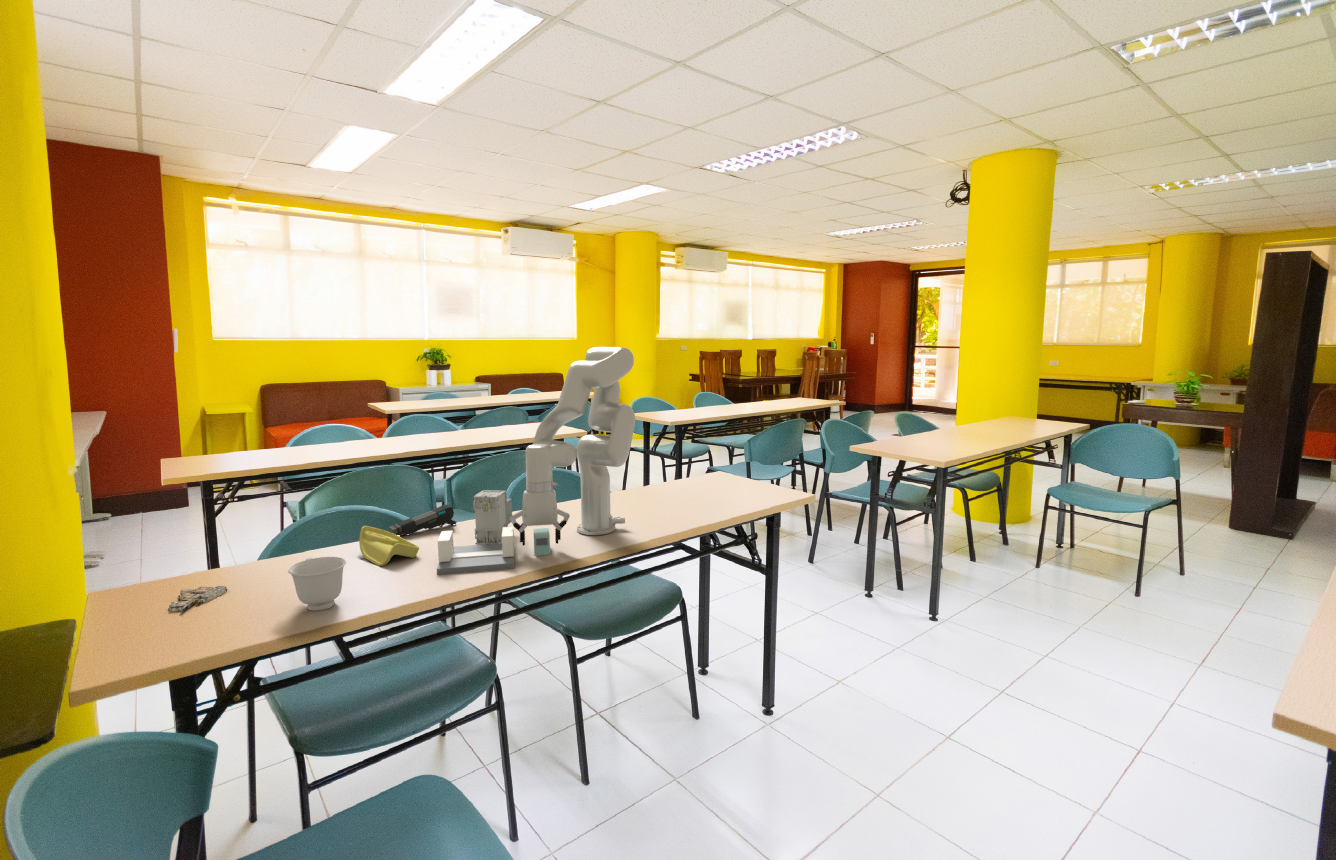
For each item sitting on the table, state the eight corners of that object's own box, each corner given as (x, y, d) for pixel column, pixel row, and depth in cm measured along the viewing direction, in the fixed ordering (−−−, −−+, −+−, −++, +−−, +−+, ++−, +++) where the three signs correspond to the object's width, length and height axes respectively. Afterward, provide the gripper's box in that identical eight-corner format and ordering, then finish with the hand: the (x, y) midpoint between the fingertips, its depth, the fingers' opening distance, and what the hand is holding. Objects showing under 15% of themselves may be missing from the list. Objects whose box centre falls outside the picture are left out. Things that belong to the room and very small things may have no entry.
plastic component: (422, 548, 184) (392, 542, 176) (412, 573, 183) (382, 567, 175) (388, 530, 196) (358, 524, 188) (379, 553, 195) (348, 547, 187)
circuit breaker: (514, 530, 208) (512, 485, 206) (499, 544, 194) (496, 496, 192) (492, 529, 209) (490, 485, 207) (475, 543, 195) (473, 496, 193)
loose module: (549, 546, 192) (548, 527, 191) (550, 555, 185) (549, 535, 184) (534, 548, 191) (533, 528, 190) (534, 556, 184) (533, 536, 183)
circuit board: (169, 620, 145) (168, 610, 144) (169, 598, 156) (168, 589, 156) (232, 606, 152) (231, 597, 152) (228, 586, 164) (227, 578, 163)
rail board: (514, 547, 192) (513, 522, 191) (513, 568, 175) (512, 540, 173) (445, 552, 188) (443, 526, 186) (437, 574, 170) (435, 546, 169)
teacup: (337, 587, 161) (334, 550, 160) (356, 606, 150) (353, 565, 149) (283, 601, 153) (279, 561, 152) (299, 621, 142) (295, 578, 141)
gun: (460, 524, 214) (449, 499, 211) (405, 556, 203) (392, 530, 199) (454, 521, 217) (443, 496, 214) (400, 552, 206) (387, 527, 202)
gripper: (568, 482, 191) (569, 537, 193) (509, 485, 187) (510, 541, 189) (570, 488, 184) (570, 545, 186) (508, 490, 180) (510, 549, 182)
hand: (540, 543), depth 188 cm, fingers open, 9 cm apart
